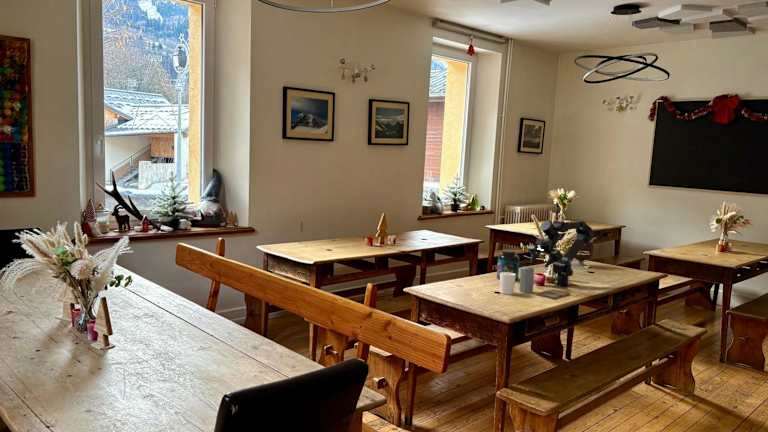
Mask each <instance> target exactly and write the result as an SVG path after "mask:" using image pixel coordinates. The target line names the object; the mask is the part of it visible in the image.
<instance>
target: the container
mask: <svg viewBox="0 0 768 432" xmlns="http://www.w3.org/2000/svg"><path fill="white" fill-rule="evenodd" d="M516 252H517V251H516V250H513V249H502V251H501V253H500V254H498V256H497V265H496V266H497V268H496V278H497V279H498V280H500V273H501V272H510V273H514V274H516V278H515V282H516V281H518V279H519V275H520V269H519V268H520V257H519V256H520V255H518V254H516Z"/></svg>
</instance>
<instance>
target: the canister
mask: <svg viewBox="0 0 768 432" xmlns="http://www.w3.org/2000/svg"><path fill="white" fill-rule="evenodd" d="M534 274H535V269H534V267H532V266H521V267H520V271H519V292H520V293H523V294H532V293H534V280H535V279H534V276H535V275H534Z"/></svg>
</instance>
